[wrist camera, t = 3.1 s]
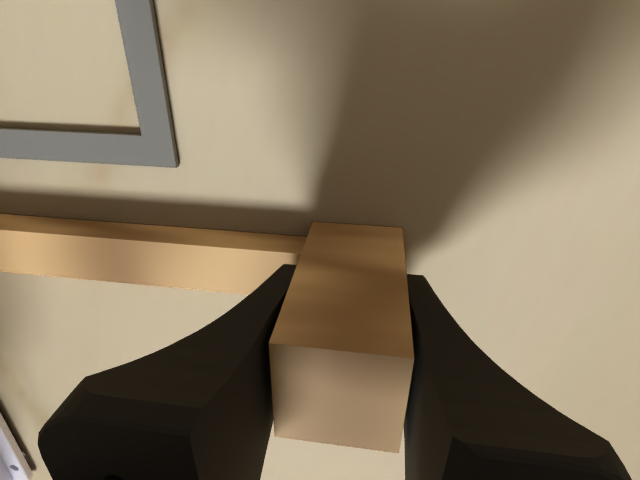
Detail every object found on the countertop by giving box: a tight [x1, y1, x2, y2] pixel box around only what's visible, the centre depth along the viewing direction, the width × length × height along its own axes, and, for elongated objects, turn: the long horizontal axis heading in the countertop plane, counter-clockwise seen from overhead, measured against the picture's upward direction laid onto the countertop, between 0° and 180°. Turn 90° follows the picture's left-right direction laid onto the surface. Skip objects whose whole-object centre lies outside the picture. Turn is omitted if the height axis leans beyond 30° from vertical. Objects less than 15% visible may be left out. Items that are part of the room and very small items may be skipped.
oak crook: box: [0, 214, 414, 453], centre depth 11 cm, size 20×9×6 cm, turn 90°
